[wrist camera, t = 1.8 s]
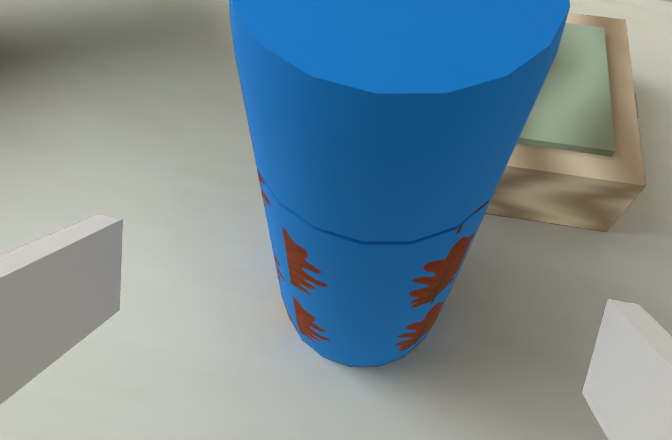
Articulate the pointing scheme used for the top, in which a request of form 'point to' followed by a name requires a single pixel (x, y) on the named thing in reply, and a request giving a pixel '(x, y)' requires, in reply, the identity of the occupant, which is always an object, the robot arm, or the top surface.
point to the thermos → (383, 150)
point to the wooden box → (578, 135)
